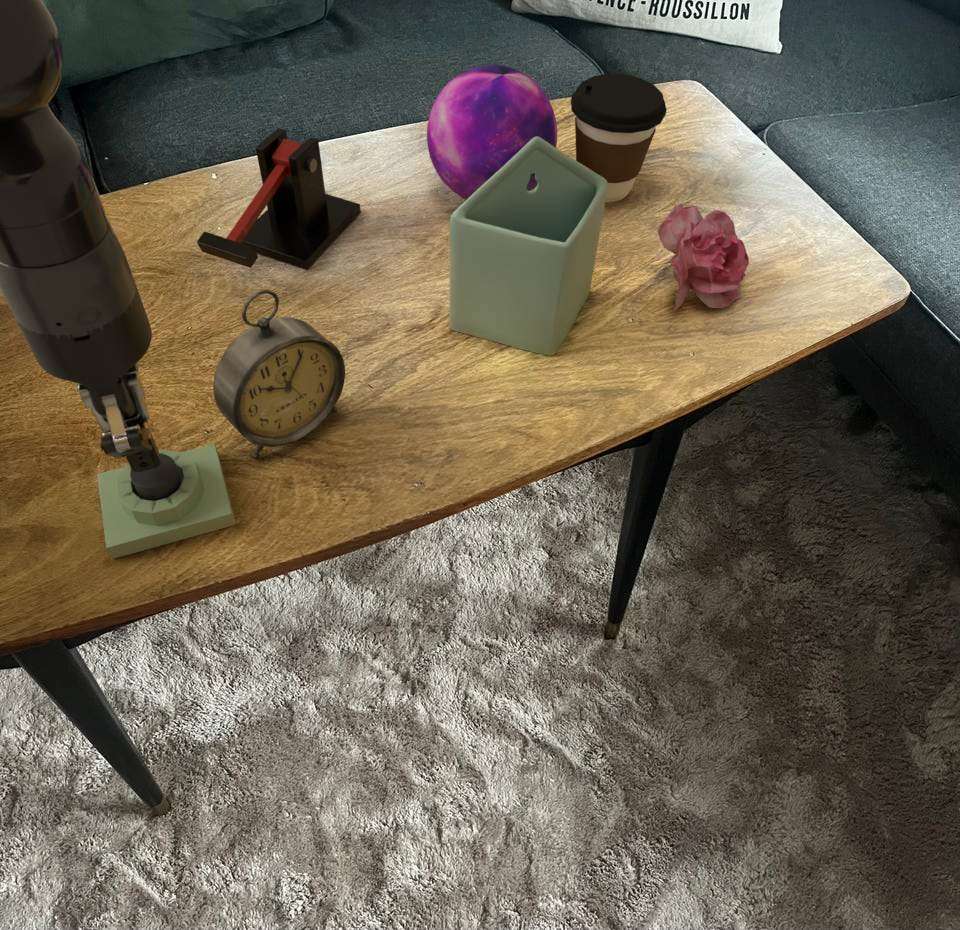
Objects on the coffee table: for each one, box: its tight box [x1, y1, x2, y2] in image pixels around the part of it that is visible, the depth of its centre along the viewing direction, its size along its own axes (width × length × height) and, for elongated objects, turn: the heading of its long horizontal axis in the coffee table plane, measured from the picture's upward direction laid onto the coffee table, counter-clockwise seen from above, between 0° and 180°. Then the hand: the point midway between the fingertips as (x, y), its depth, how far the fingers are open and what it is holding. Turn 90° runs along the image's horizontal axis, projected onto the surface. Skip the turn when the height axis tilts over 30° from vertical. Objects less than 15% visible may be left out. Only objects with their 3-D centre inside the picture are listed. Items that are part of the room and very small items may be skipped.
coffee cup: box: [570, 73, 668, 203], centre depth 98 cm, size 11×11×12 cm
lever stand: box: [241, 127, 361, 271], centre depth 92 cm, size 12×9×11 cm
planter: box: [448, 136, 608, 357], centre depth 78 cm, size 16×8×20 cm, turn 113°
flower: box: [650, 203, 750, 312], centre depth 89 cm, size 11×10×10 cm
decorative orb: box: [426, 64, 558, 200], centre depth 96 cm, size 15×15×15 cm
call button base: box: [96, 443, 237, 560], centre depth 70 cm, size 10×8×4 cm
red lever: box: [196, 138, 303, 269], centre depth 87 cm, size 15×6×2 cm, turn 156°
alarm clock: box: [212, 288, 346, 460], centre depth 71 cm, size 11×5×16 cm, turn 131°
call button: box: [130, 453, 181, 501], centre depth 68 cm, size 4×4×2 cm
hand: (146, 463), depth 66 cm, fingers closed
